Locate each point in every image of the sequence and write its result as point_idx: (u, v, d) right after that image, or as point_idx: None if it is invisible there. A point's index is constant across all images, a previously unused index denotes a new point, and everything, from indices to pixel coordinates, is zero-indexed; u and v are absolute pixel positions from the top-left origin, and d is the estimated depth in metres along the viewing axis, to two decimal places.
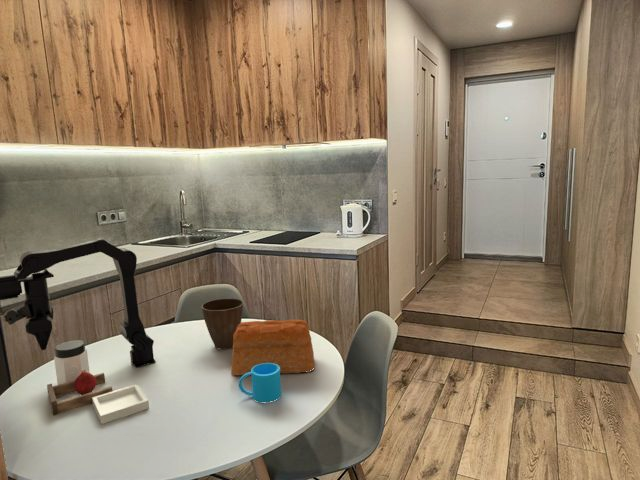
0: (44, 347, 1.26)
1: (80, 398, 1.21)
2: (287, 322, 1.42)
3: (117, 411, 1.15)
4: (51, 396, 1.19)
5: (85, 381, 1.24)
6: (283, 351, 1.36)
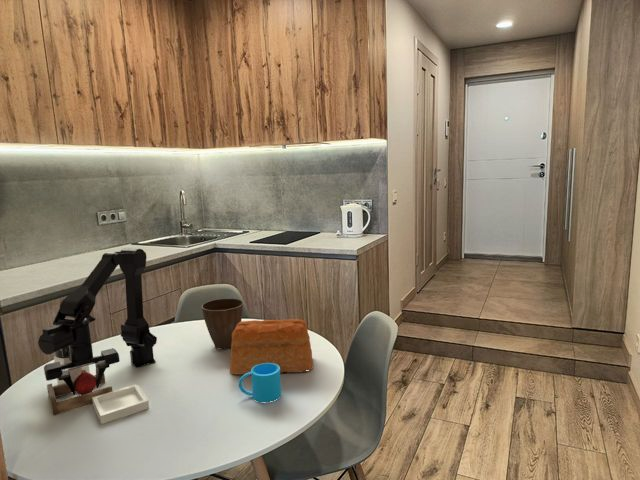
0: (72, 392, 1.25)
1: (80, 398, 1.21)
2: (285, 321, 1.42)
3: (117, 411, 1.15)
4: (51, 396, 1.19)
5: (85, 381, 1.24)
6: (281, 350, 1.36)
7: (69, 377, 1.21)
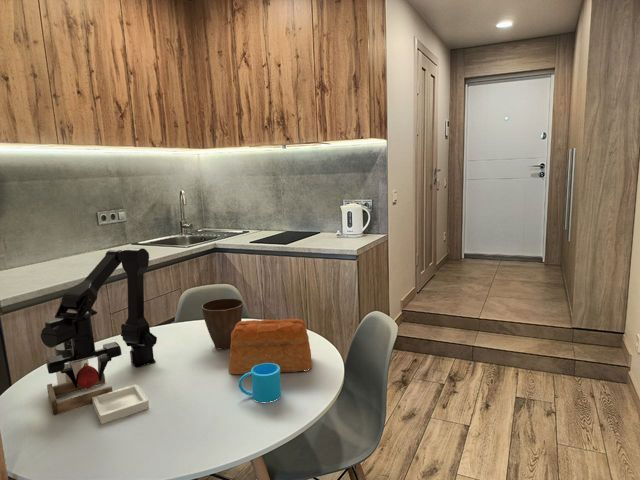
0: (74, 385, 1.25)
1: (80, 398, 1.21)
2: (284, 321, 1.43)
3: (117, 411, 1.15)
4: (51, 396, 1.19)
5: (87, 374, 1.25)
6: (280, 350, 1.36)
7: (71, 370, 1.22)
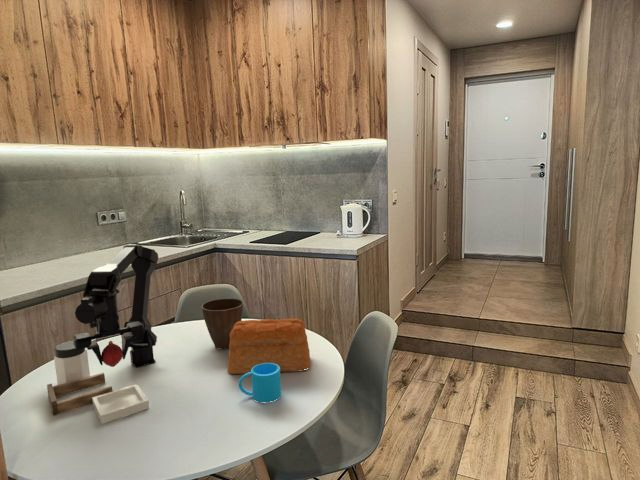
0: (100, 362, 1.28)
1: (80, 398, 1.21)
2: (283, 321, 1.43)
3: (117, 411, 1.15)
4: (51, 396, 1.19)
5: (112, 351, 1.28)
6: (279, 350, 1.37)
7: (97, 347, 1.25)
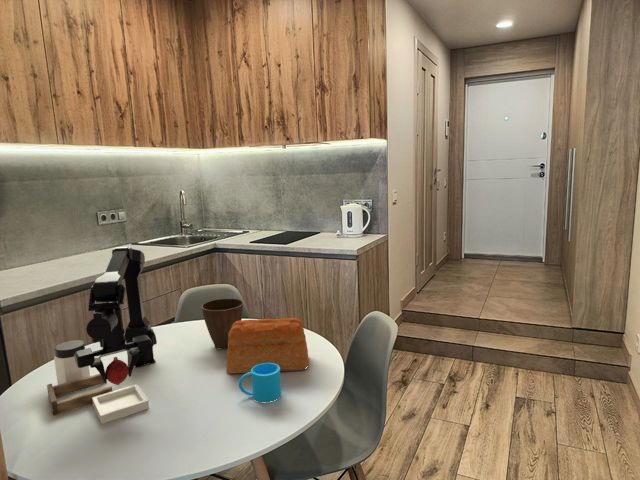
0: (104, 381, 1.17)
1: (80, 398, 1.21)
2: (281, 320, 1.43)
3: (117, 411, 1.15)
4: (51, 396, 1.19)
5: (117, 368, 1.17)
6: (278, 349, 1.37)
7: (101, 364, 1.14)
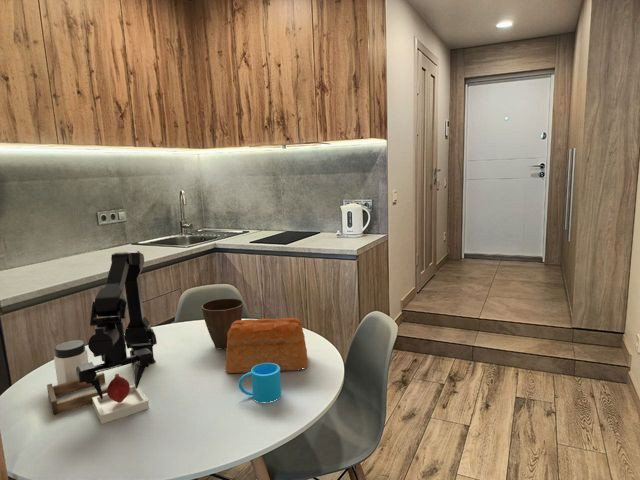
0: None
1: (80, 398, 1.21)
2: (280, 320, 1.44)
3: (117, 411, 1.15)
4: (51, 396, 1.19)
5: (119, 383, 1.19)
6: (276, 349, 1.37)
7: (97, 380, 1.14)
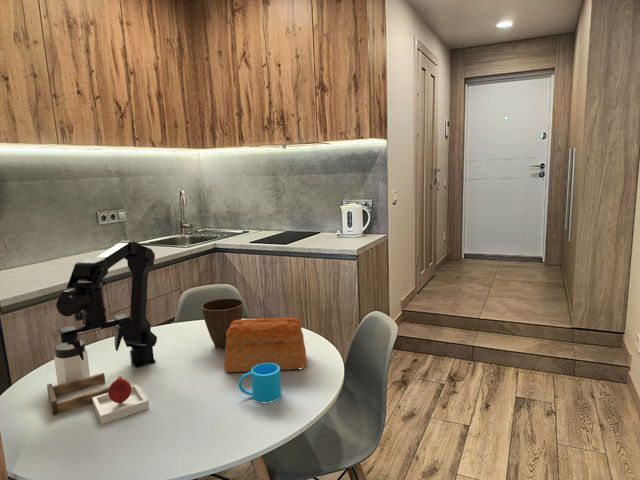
0: None
1: (80, 398, 1.21)
2: (279, 320, 1.44)
3: (117, 411, 1.15)
4: (51, 396, 1.19)
5: (120, 388, 1.18)
6: (275, 348, 1.38)
7: (78, 341, 1.21)
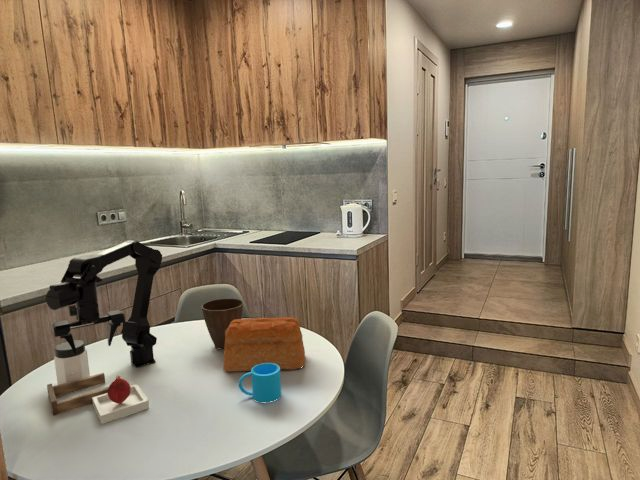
0: None
1: (80, 398, 1.21)
2: (278, 320, 1.44)
3: (117, 411, 1.15)
4: (51, 396, 1.19)
5: (119, 387, 1.18)
6: (274, 348, 1.38)
7: (70, 336, 1.24)
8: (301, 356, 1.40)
